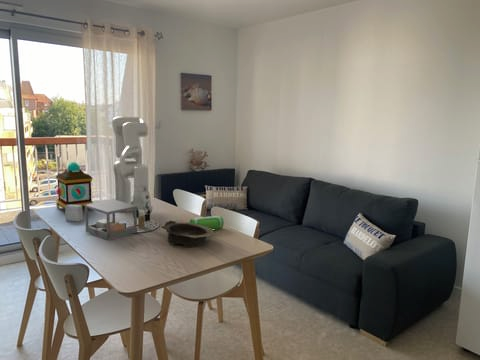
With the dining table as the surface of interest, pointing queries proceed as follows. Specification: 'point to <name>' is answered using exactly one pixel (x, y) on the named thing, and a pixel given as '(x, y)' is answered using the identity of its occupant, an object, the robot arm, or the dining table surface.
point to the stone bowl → (186, 233)
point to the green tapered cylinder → (209, 221)
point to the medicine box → (73, 213)
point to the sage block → (102, 223)
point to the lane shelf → (107, 209)
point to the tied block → (119, 226)
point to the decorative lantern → (73, 187)
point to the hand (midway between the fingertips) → (141, 219)
